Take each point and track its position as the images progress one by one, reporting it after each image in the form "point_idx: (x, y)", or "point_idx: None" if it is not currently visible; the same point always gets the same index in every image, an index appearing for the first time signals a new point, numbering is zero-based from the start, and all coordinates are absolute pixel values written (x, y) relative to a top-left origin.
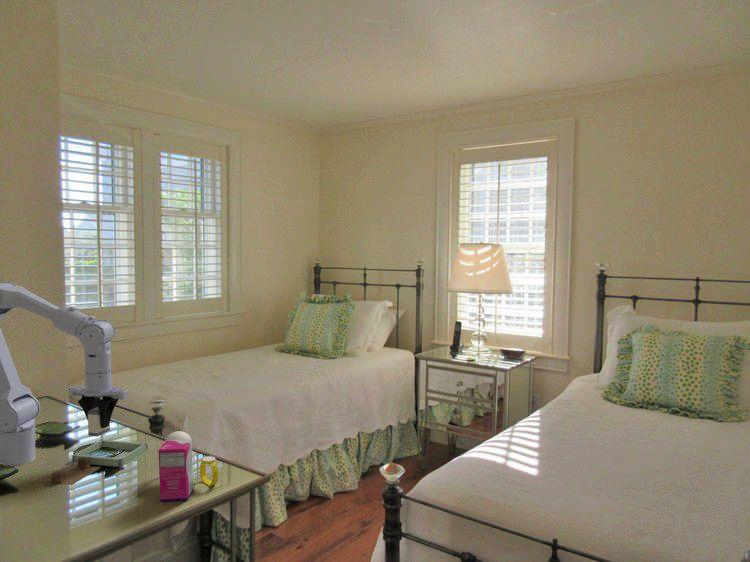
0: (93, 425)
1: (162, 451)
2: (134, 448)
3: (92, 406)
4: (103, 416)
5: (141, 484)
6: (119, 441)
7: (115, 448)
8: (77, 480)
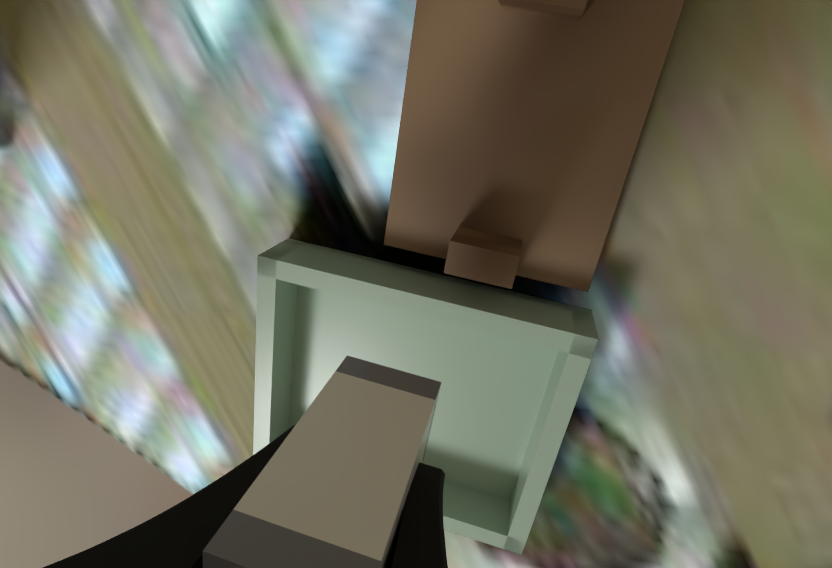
0: (354, 431)
1: None
2: None
3: None
4: (197, 498)
5: (97, 55)
6: None
7: None
8: (424, 29)
